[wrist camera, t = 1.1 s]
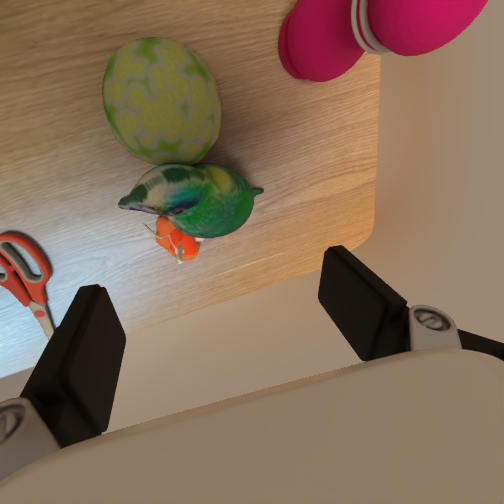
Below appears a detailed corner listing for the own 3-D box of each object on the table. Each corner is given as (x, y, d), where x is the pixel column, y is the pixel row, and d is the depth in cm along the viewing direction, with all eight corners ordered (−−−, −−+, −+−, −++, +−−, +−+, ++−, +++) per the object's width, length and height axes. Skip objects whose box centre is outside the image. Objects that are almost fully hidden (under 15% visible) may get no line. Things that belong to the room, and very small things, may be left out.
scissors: (58, 356, 39) (54, 365, 38) (-48, 243, 28) (-59, 249, 27) (108, 342, 40) (106, 349, 39) (26, 226, 29) (19, 232, 28)
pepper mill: (265, 9, 24) (454, -194, 8) (333, -14, 25) (651, -256, 8) (282, 93, 28) (428, 79, 12) (339, 72, 29) (562, 29, 12)
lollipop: (180, 184, 30) (180, 223, 20) (212, 245, 36) (225, 300, 26) (134, 204, 30) (111, 253, 20) (173, 262, 35) (171, 324, 25)
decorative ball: (179, 26, 23) (180, -17, 15) (231, 130, 29) (252, 141, 20) (91, 82, 24) (43, 70, 15) (158, 174, 29) (150, 202, 21)
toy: (202, 266, 33) (138, 249, 18) (173, 216, 34) (91, 164, 20) (281, 214, 33) (281, 154, 18) (247, 166, 34) (221, 75, 19)
